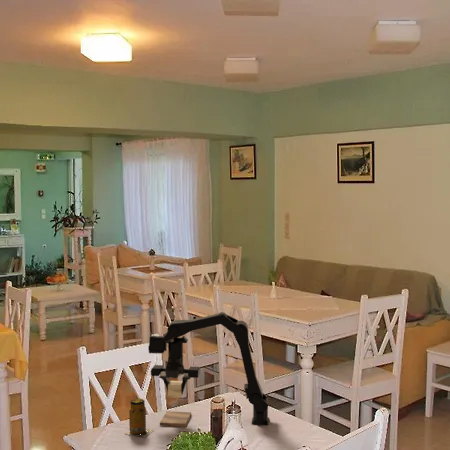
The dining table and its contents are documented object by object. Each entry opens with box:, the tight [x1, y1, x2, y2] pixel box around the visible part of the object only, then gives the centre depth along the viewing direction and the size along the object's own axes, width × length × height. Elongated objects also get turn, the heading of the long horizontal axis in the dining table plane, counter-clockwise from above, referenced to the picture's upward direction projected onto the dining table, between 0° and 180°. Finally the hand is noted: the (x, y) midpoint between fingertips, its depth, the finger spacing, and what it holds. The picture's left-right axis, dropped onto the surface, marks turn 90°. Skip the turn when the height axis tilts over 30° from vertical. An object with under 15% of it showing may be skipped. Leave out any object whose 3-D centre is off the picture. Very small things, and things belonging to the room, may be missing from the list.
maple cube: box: [167, 380, 184, 399], centre depth 237 cm, size 5×5×5 cm
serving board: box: [159, 410, 192, 428], centre depth 238 cm, size 12×10×1 cm
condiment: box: [124, 398, 155, 438], centre depth 226 cm, size 7×8×12 cm
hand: (175, 392), depth 237 cm, fingers closed on maple cube, 5 cm apart
